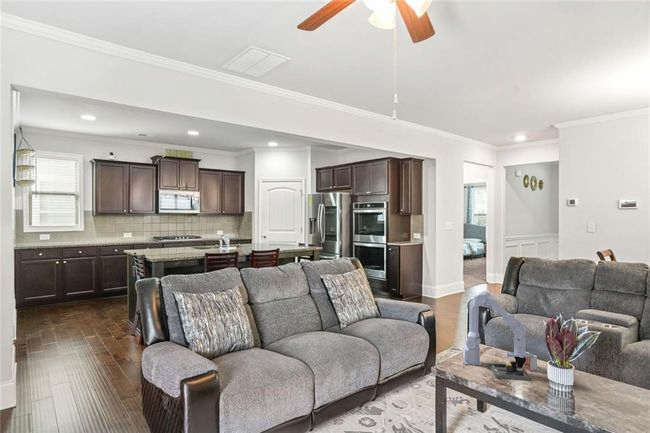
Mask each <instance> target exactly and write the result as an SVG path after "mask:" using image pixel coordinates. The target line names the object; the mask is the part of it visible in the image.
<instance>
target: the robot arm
mask: <svg viewBox="0 0 650 433" xmlns="http://www.w3.org/2000/svg"><path fill="white" fill-rule="evenodd" d="M483 305H485V306H488V307H492V308H493V309H494V310H495V311H496V312H497V313H498V314H499V315H500V316H502V321H504V322H505V324H506V325H507V326H508V327H509V328H510V329H511V330H512V333H513V335H514V336H513V351H511V352H510V351H509V352H505V357H506V358H509V357H510V358H513V359H514V360H515V361H516V363H517V366H518V368H523V365H524V363H525V362H526V358H534V355H535V354H534V353H531V354H529V353H530V352H528V353H526V352H527V351H526V342H527V340H526V333H527V327H526V326H525V324H524V323H522V322H520V321H519V320H518V319H516V318H515V315H514V314H512V313H509V312H507V311H506V310H505V309H504V308H503V307H502V305H501V304H499V302H498V301H497V300H496V299H495V297H494V295H492V294H491V293H489V292H488V291H485V290H483V291H481V292H480V293H478V294H476V295H474V297H472V299H471V301H470V302H469V317H468V318H469V319H468V320H469V322H468V323H469V324H468V326H469V327H468V328H469V329H468V333H467V337H466V338H467V339H466V341H465V347H462V360H463V363H464V364H465V365H470V366H471V365H473V366H482V362H481V347H480V345H481V343H482V340H481V337H480V333H479V314H480V312H479V310H480V309H479V307H480V306H483Z"/></svg>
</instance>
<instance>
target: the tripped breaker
mask: <svg viewBox="0 0 650 433" xmlns="http://www.w3.org/2000/svg"><path fill="white" fill-rule="evenodd" d="M504 364H505V366H506V371H512V365H511V364H510V362H507V363H504Z"/></svg>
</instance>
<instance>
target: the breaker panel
mask: <svg viewBox="0 0 650 433" xmlns="http://www.w3.org/2000/svg"><path fill="white" fill-rule="evenodd" d="M509 363H510V364H511V365H512V371H506V366H505V364H506V363H497V362H494V363H493V362H488V368H489V370H490V371H491V372H492V374H493V376H494V377H495V378H496V379H506V380H521V381H522V380H523V381H532V376H531V375H529V374H528V372H527V371H526V370H525V368H523V367H522V368H518V366H517V363H516V361H515V359H510V361H509Z"/></svg>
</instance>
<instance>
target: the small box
mask: <svg viewBox="0 0 650 433" xmlns="http://www.w3.org/2000/svg"><path fill="white" fill-rule="evenodd" d="M526 353H529V354H532V353H530V352H528V351H526ZM522 368H523V369H524V370H525V369H526V370H527V371H536V370H538V355H535V354H534V358H526V362H525V363H524V365H523V367H522Z"/></svg>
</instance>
